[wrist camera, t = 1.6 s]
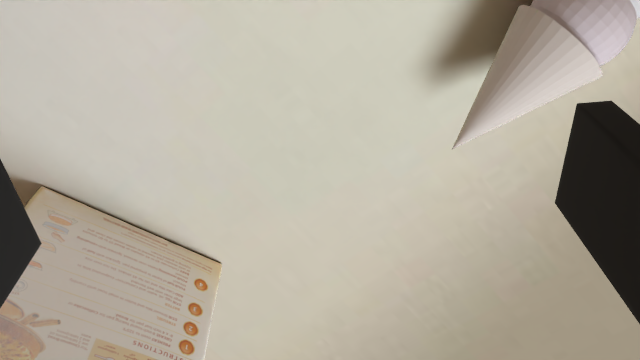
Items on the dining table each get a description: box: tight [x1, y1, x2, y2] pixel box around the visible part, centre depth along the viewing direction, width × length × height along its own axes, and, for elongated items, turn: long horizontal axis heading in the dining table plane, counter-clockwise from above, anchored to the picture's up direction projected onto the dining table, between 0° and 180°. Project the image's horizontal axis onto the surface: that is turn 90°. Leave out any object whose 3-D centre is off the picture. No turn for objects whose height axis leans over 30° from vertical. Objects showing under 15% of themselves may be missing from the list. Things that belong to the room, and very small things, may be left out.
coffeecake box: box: [0, 186, 222, 360], centre depth 33 cm, size 15×7×20 cm, turn 57°
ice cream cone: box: [452, 0, 640, 149], centre depth 30 cm, size 6×6×15 cm
